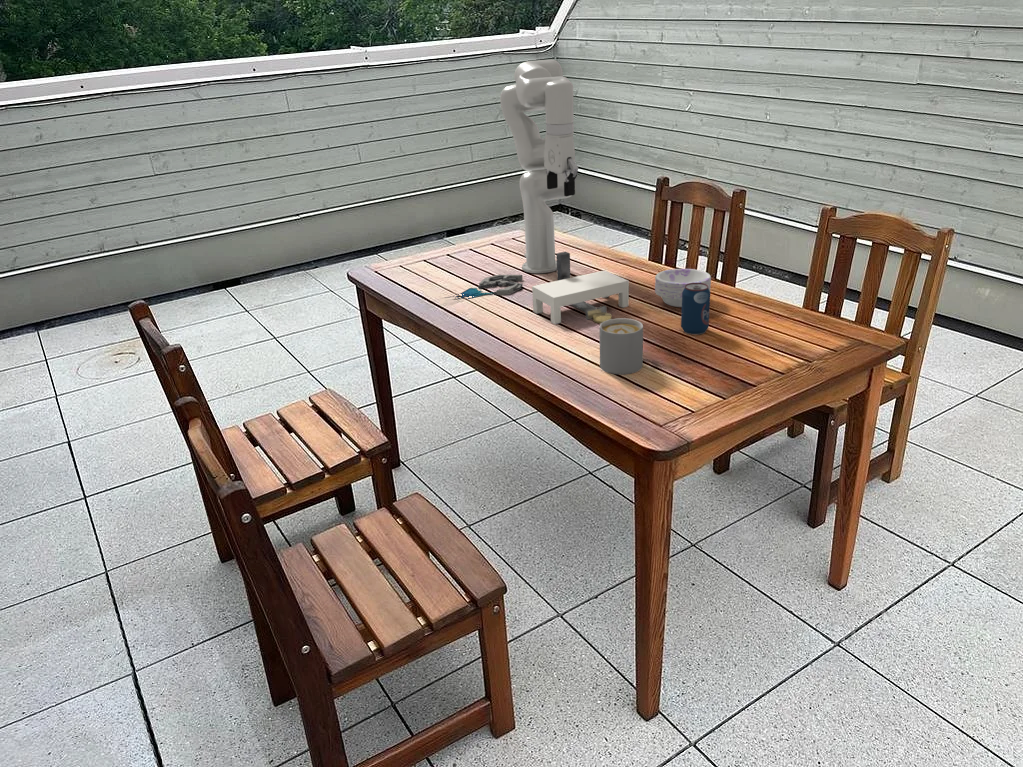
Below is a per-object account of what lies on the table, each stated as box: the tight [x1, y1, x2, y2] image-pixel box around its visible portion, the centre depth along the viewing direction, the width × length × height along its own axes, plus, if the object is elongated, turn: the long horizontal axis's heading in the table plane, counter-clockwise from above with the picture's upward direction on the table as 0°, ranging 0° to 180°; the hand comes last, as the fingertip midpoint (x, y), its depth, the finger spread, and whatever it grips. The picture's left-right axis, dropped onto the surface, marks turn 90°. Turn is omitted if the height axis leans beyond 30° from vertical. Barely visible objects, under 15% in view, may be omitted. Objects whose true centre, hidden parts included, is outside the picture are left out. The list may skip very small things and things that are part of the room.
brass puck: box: [592, 312, 613, 325], centre depth 208 cm, size 5×5×2 cm
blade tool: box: [555, 251, 608, 320], centre depth 215 cm, size 19×6×14 cm, turn 27°
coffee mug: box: [598, 317, 644, 375], centre depth 180 cm, size 13×10×10 cm
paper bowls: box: [654, 268, 712, 308], centre depth 216 cm, size 15×15×8 cm
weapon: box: [457, 274, 523, 300], centre depth 236 cm, size 34×2×15 cm
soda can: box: [680, 283, 711, 336], centre depth 195 cm, size 7×7×12 cm
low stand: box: [531, 270, 630, 325], centre depth 216 cm, size 12×24×8 cm, turn 117°
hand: (560, 191), depth 218 cm, fingers open, 9 cm apart
